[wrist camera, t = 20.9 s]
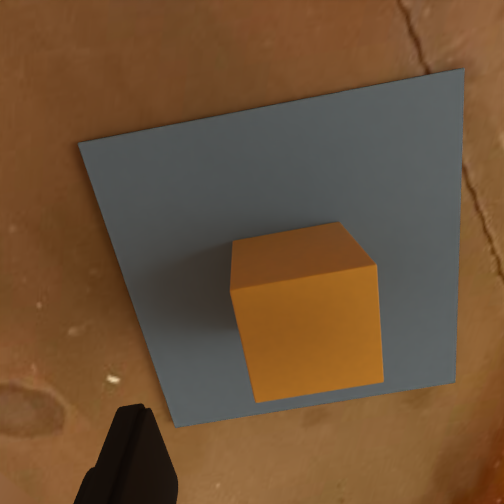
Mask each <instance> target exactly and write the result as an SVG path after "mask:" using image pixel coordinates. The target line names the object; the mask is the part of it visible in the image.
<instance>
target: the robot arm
mask: <svg viewBox="0 0 504 504" xmlns="http://www.w3.org/2000/svg"><path fill="white" fill-rule="evenodd" d="M177 495H178V479H177V475H176V473H175V470H174V467H173V465H172V462H171V459H170V457H169V454H168V451H167V449H166V446H165V444H164V441H163V438H162V436H161V433H160V430H159V428H158V425H157V423H156V420H155V417H154V415H153V412H152V410H151V409H150V408H146V409H145V407H144V405H143V404H134V405H128V406H122V407H119V408H118V410H117V411H116V414H115V416H114V419H113V421H112V424H111V427H110V429H109V432H108V434H107V437H106V439H105V442H104V445H103V447H102V450H101V452H100V455H99V458H98V460H97V463H96V465H95V467H93V468H91V469H90V470H89V471H88V472H87V473H86V475H85V477H84V479H83V481H82V484H81V486H80V489H79V491H78V494H77V496H76V498H75V501H74V503H73V504H176V501H177Z"/></svg>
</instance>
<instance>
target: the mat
mask: <svg viewBox="0 0 504 504" xmlns="http://www.w3.org/2000/svg"><path fill="white" fill-rule="evenodd" d="M463 103H464V68H459V69H454V70H449V71H444V72H439V73H434V74H428V75H423V76H418V77H413V78H408V79H403V80H398V81H393V82H387V83H382V84H377V85H372V86H367V87H362V88H357V89H351V90H346V91H341V92H336V93H331V94H326V95H321V96H316V97H310V98H305V99H300V100H295V101H290V102H285V103H280V104H274V105H269V106H264V107H259V108H254V109H249V110H244V111H238V112H233V113H228V114H223V115H218V116H213V117H208V118H203V119H197V120H192V121H187V122H182V123H177V124H172V125H167V126H161V127H156V128H151V129H146V130H141V131H136V132H131V133H126V134H120V135H115V136H110V137H105V138H100V139H95V140H90V141H84V142H80V143H78V146H79V149H80V152H81V155H82V158H83V161H84V164H85V167H86V170H87V172H88V175H89V178H90V181H91V184H92V187H93V190H94V193H95V196H96V199H97V202H98V204H99V207H100V210H101V213H102V216H103V219H104V222H105V225H106V228H107V231H108V234H109V236H110V239H111V242H112V245H113V248H114V251H115V254H116V257H117V260H118V263H119V266H120V268H121V271H122V274H123V277H124V280H125V283H126V286H127V289H128V292H129V295H130V298H131V300H132V303H133V306H134V309H135V312H136V315H137V318H138V321H139V324H140V327H141V330H142V332H143V335H144V338H145V341H146V344H147V347H148V350H149V353H150V356H151V359H152V362H153V364H154V367H155V370H156V373H157V376H158V379H159V382H160V385H161V388H162V391H163V394H164V396H165V399H166V402H167V405H168V408H169V411H170V414H171V417H172V420H173V423H174V425H175V428H178V427H184V426H190V425H196V424H202V423H209V422H215V421H221V420H227V419H233V418H239V417H246V416H252V415H258V414H264V413H270V412H277V411H283V410H289V409H295V408H301V407H308V406H314V405H320V404H326V403H332V402H338V401H345V400H351V399H357V398H363V397H369V396H376V395H382V394H388V393H394V392H400V391H406V390H413V389H419V388H425V387H431V386H437V385H444V384H450V383H455V374H456V340H457V306H458V272H459V238H460V205H461V171H462V137H463ZM334 222H340V223H341V224H342V225H343V226H344V228H345V229H346V230H347V231H348V232H349V233H350V234H351V236H352V237H353V238H354V239H355V240H356V241H357V243H358V244H359V245H360V246H361V247H362V248H363V250H364V251H365V252H366V253H367V254H368V255H369V256H370V258H371V259H372V260H373V261H374V262H375V263H376V265H377V275H378V292H379V308H380V325H381V341H382V358H383V375H384V382H382V383H376V384H370V385H364V386H358V387H352V388H345V389H339V390H333V391H327V392H321V393H315V394H309V395H302V396H296V397H290V398H284V399H278V400H272V401H266V402H259V403H256V402H255V400H254V395H253V391H252V387H251V382H250V378H249V374H248V369H247V365H246V360H245V356H244V352H243V347H242V343H241V339H240V334H239V330H238V326H237V321H236V317H235V312H234V308H233V304H232V299H231V295H230V277H231V261H232V244H233V241H235V240H240V239H246V238H251V237H257V236H262V235H268V234H273V233H279V232H284V231H290V230H295V229H301V228H307V227H312V226H318V225H323V224H329V223H334Z"/></svg>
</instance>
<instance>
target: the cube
mask: <svg viewBox="0 0 504 504" xmlns="http://www.w3.org/2000/svg"><path fill="white" fill-rule="evenodd" d="M230 295H231V299H232V304H233V308H234V312H235V317H236V321H237V326H238V330H239V334H240V339H241V343H242V347H243V352H244V356H245V360H246V365H247V369H248V374H249V378H250V382H251V387H252V391H253V395H254V400H255V402H256V403H259V402H266V401H272V400H278V399H284V398H290V397H296V396H302V395H309V394H315V393H321V392H327V391H333V390H339V389H345V388H352V387H358V386H364V385H370V384H376V383H382V382H384V375H383V358H382V341H381V325H380V308H379V292H378V275H377V265H376V263H375V262H374V261H373V260H372V259H371V258H370V256H369V255H368V254H367V253H366V252H365V251H364V250H363V248H362V247H361V246H360V245H359V244H358V243H357V241H356V240H355V239H354V238H353V237H352V236H351V234H350V233H349V232H348V231H347V230H346V229H345V228H344V226H343V225H342V224H341V223H340V222H334V223H329V224H323V225H318V226H312V227H307V228H301V229H295V230H290V231H284V232H279V233H273V234H268V235H262V236H257V237H251V238H246V239H240V240H235V241H233V244H232V261H231V277H230Z"/></svg>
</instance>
